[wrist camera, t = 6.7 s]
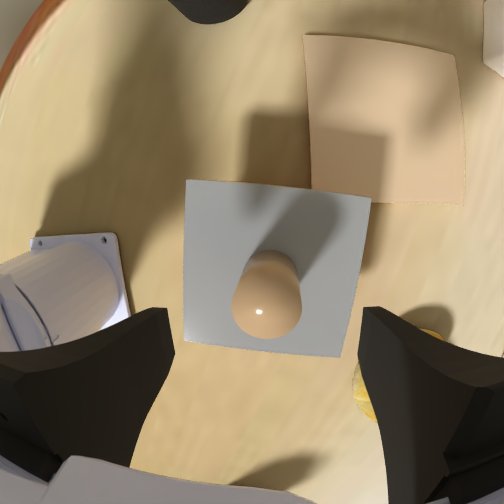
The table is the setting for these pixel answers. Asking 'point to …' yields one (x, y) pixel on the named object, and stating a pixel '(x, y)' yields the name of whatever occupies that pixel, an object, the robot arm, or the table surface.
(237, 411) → the table surface
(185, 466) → the table surface
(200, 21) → the drinking cup
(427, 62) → the mat
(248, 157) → the table surface
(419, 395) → the robot arm
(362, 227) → the lid
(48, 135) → the table surface
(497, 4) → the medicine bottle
